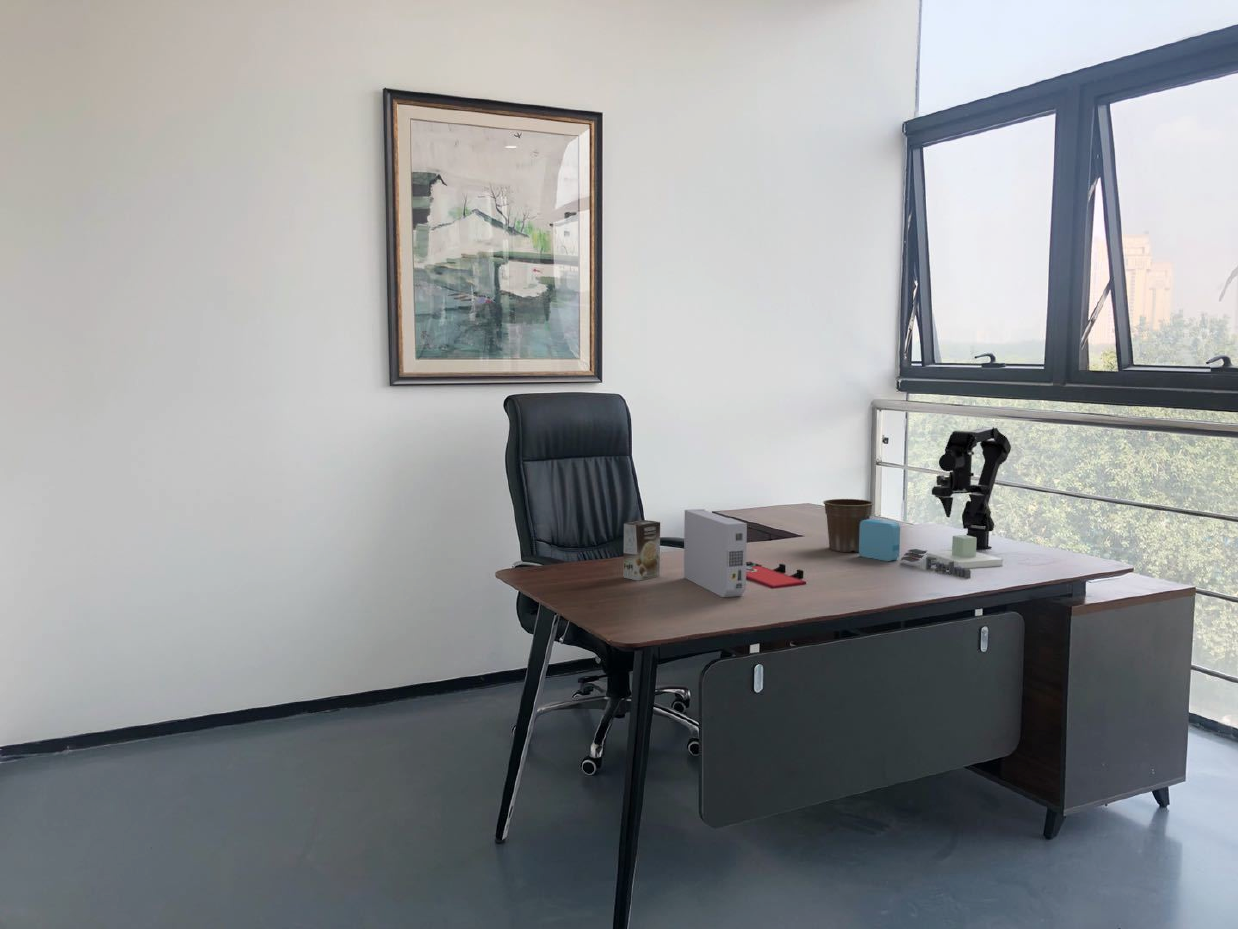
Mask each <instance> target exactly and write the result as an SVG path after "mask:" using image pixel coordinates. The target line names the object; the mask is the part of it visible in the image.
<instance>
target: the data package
mask: <svg viewBox="0 0 1238 929" xmlns="http://www.w3.org/2000/svg"><path fill="white" fill-rule="evenodd" d="M900 542H901V526H900V523H898V522H896V521H889V520H883V519H877V518H876V519H875V518H870V519H867V520H863V521H861V522H860V535H859V552H858V553H859V554H858V555H859V556H860V557H862V558H866V559H871V558H873V559H872V560H877V559H878V560H877V561H883V562H891V561H892V562H893V561H895V560H898V558H899V557H900V546H901V545H900Z"/></svg>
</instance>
